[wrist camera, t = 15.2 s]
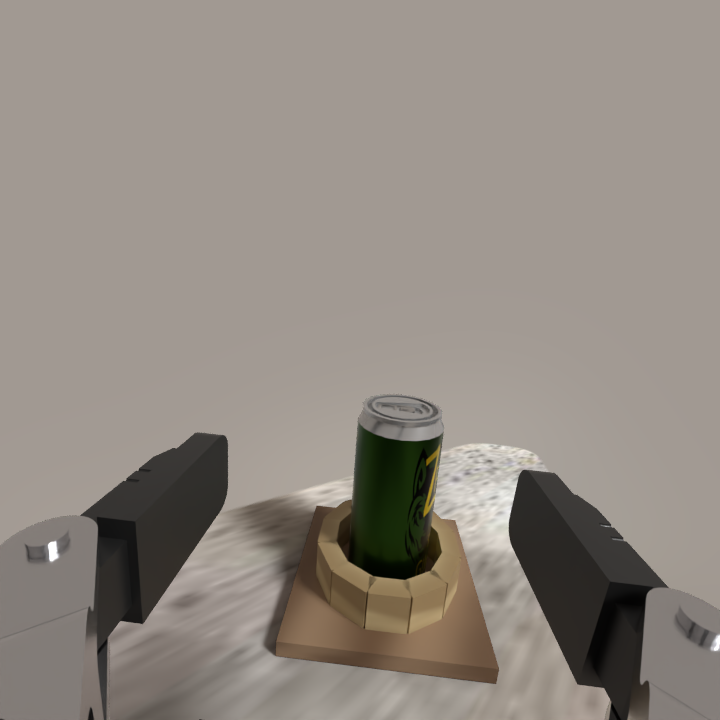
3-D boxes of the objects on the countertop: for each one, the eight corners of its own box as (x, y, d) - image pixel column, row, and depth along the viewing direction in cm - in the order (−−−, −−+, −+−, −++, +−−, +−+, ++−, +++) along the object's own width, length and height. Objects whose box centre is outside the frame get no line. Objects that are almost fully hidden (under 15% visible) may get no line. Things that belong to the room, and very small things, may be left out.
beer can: (342, 597, 22) (355, 418, 20) (351, 537, 28) (362, 389, 25) (428, 608, 22) (453, 428, 19) (421, 545, 27) (439, 397, 25)
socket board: (275, 655, 20) (276, 603, 19) (316, 515, 31) (317, 480, 31) (496, 683, 19) (506, 631, 18) (453, 530, 31) (458, 494, 30)
